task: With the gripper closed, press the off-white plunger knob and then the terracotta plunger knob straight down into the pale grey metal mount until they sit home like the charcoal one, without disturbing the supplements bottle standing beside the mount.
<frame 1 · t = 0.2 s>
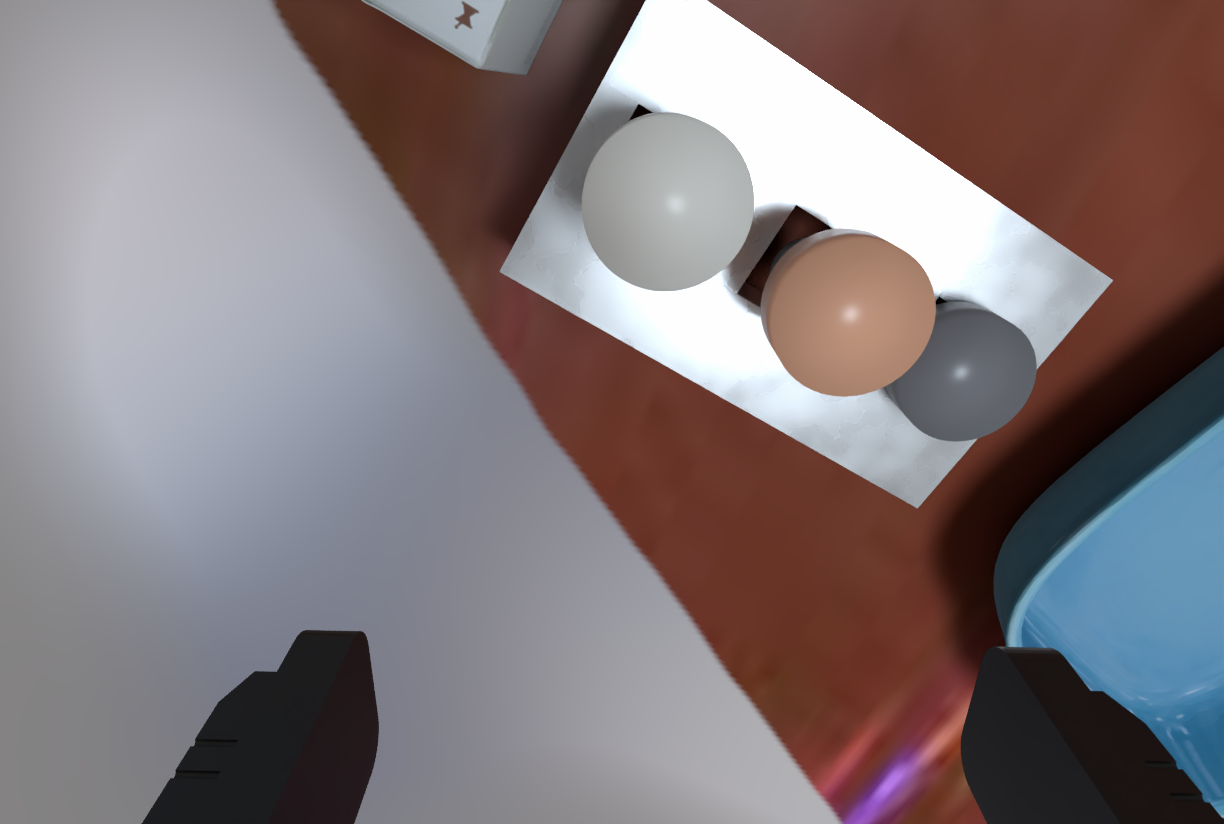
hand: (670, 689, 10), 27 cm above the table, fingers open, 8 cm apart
knob b: (826, 294, 28), point 8 cm above the table, slide at 0.0 cm
mount: (781, 250, 35), on the table
knob c: (934, 352, 33), point 4 cm above the table, slide at 4.0 cm
knob a: (661, 192, 26), point 8 cm above the table, slide at 0.0 cm
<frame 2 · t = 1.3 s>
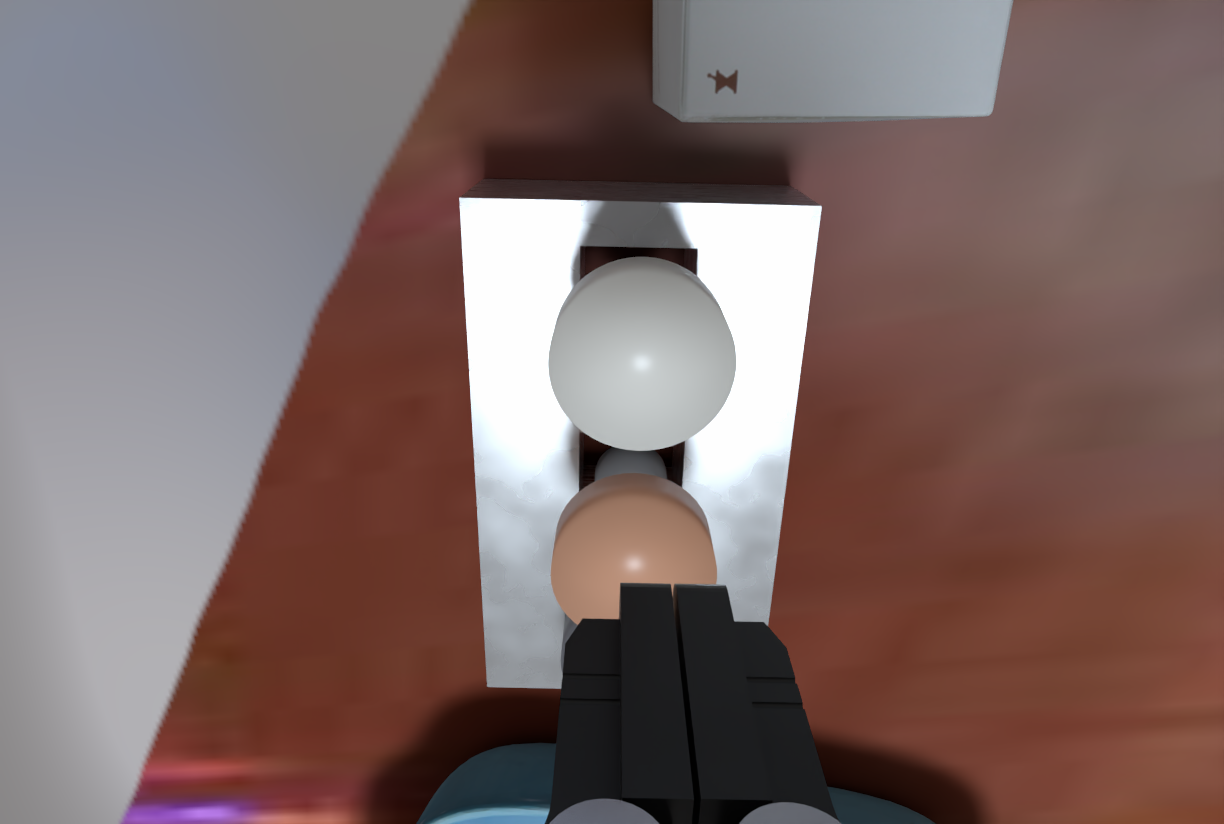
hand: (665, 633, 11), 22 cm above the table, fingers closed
knob b: (632, 519, 27), point 8 cm above the table, slide at 0.0 cm
mount: (629, 426, 34), on the table
knob c: (625, 608, 34), point 4 cm above the table, slide at 4.0 cm
knob a: (639, 329, 24), point 8 cm above the table, slide at 0.0 cm
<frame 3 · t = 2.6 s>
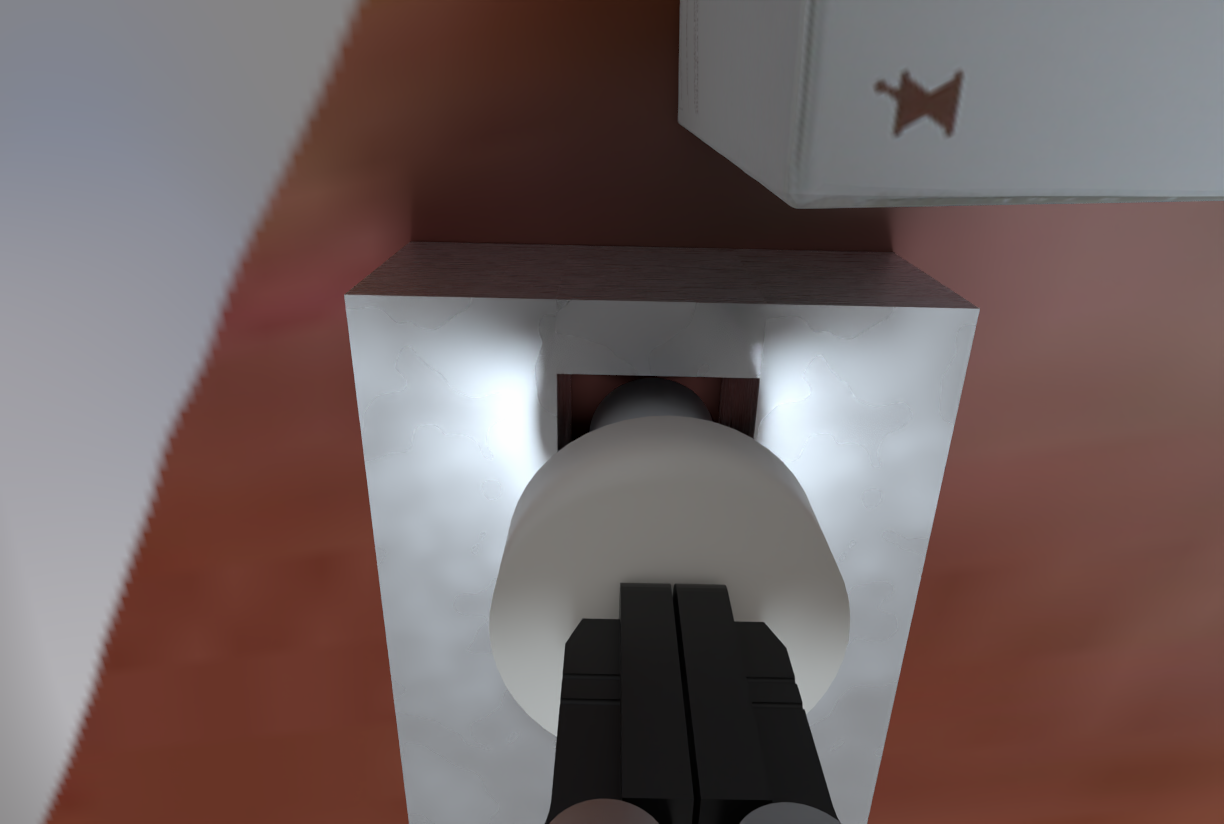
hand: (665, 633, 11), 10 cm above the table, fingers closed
mount: (637, 593, 23), on the table
knob a: (658, 514, 14), point 7 cm above the table, slide at 1.0 cm, touching gripper
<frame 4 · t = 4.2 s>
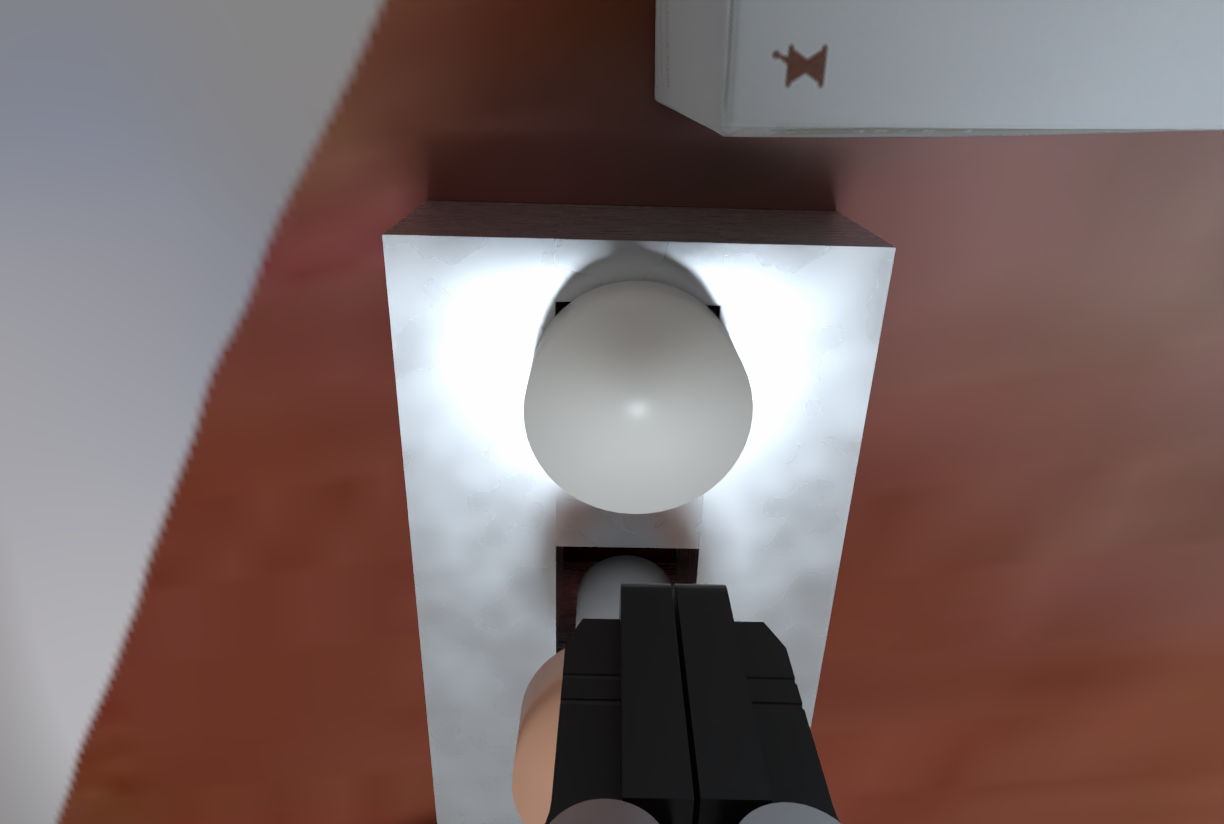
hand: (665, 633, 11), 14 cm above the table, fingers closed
knob b: (628, 676, 20), point 8 cm above the table, slide at 0.0 cm
mount: (621, 514, 27), on the table
knob a: (633, 363, 21), point 4 cm above the table, slide at 4.1 cm
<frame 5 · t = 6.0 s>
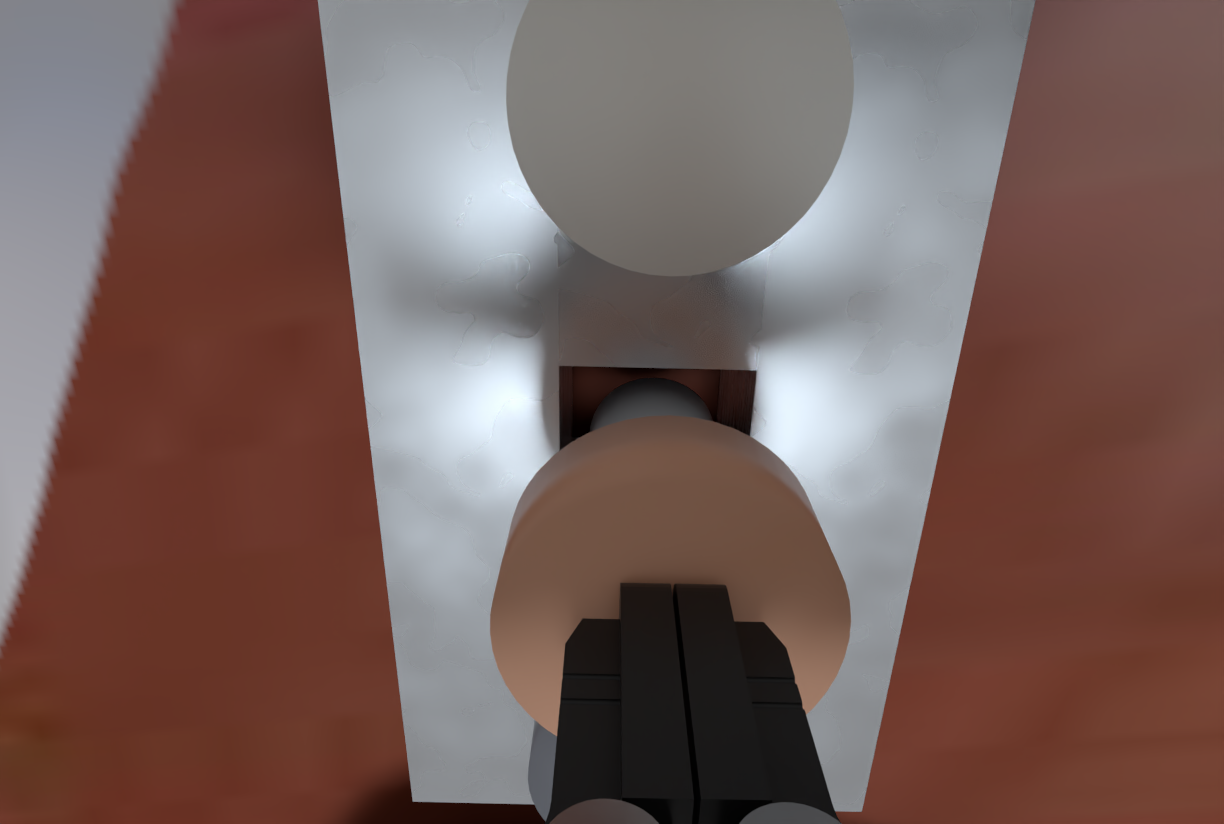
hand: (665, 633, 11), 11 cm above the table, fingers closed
knob b: (658, 514, 14), point 7 cm above the table, slide at 0.5 cm, touching gripper
mount: (646, 372, 21), on the table
knob c: (640, 674, 20), point 4 cm above the table, slide at 4.0 cm
knob a: (666, 98, 15), point 4 cm above the table, slide at 4.1 cm
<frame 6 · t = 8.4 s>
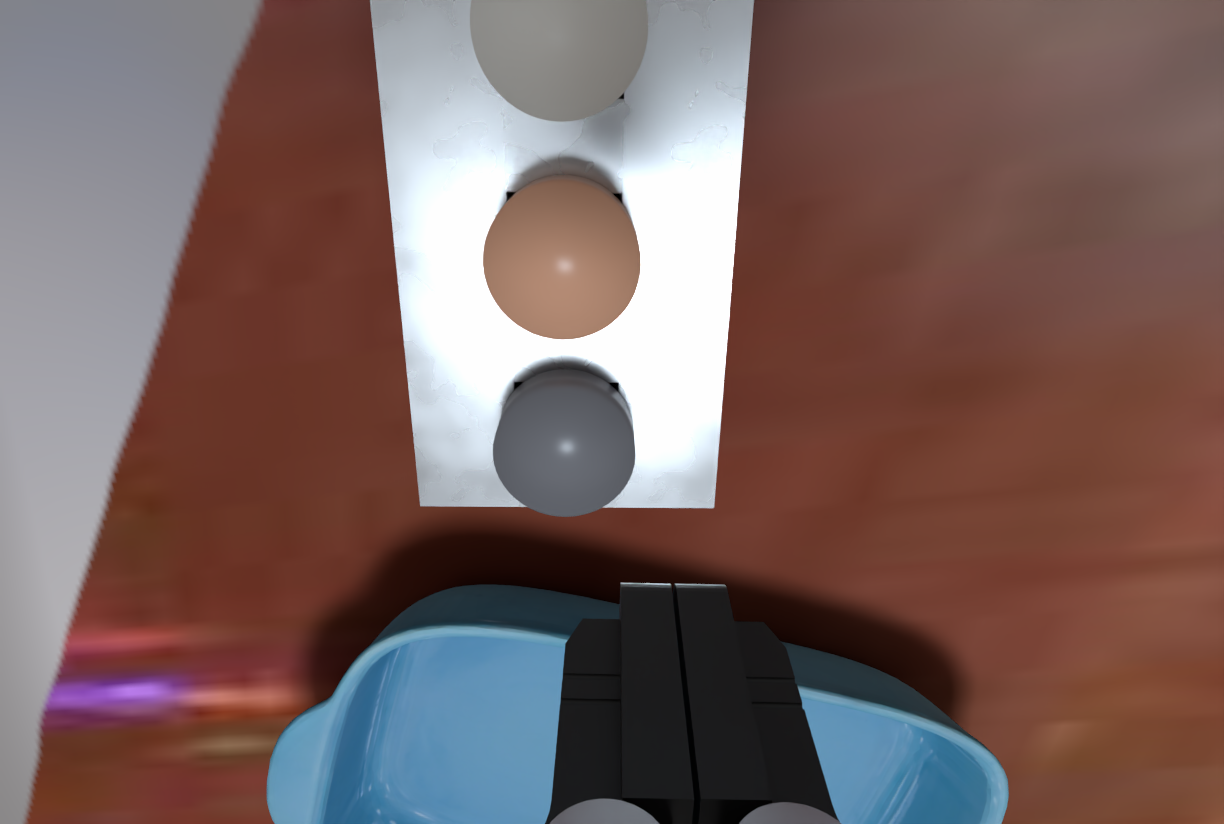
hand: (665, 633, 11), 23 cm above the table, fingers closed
casserole dish: (644, 733, 44), on the table
knob b: (566, 243, 28), point 4 cm above the table, slide at 4.1 cm
mount: (570, 224, 32), on the table
knob c: (567, 417, 31), point 4 cm above the table, slide at 4.0 cm
knob a: (564, 31, 26), point 4 cm above the table, slide at 4.1 cm
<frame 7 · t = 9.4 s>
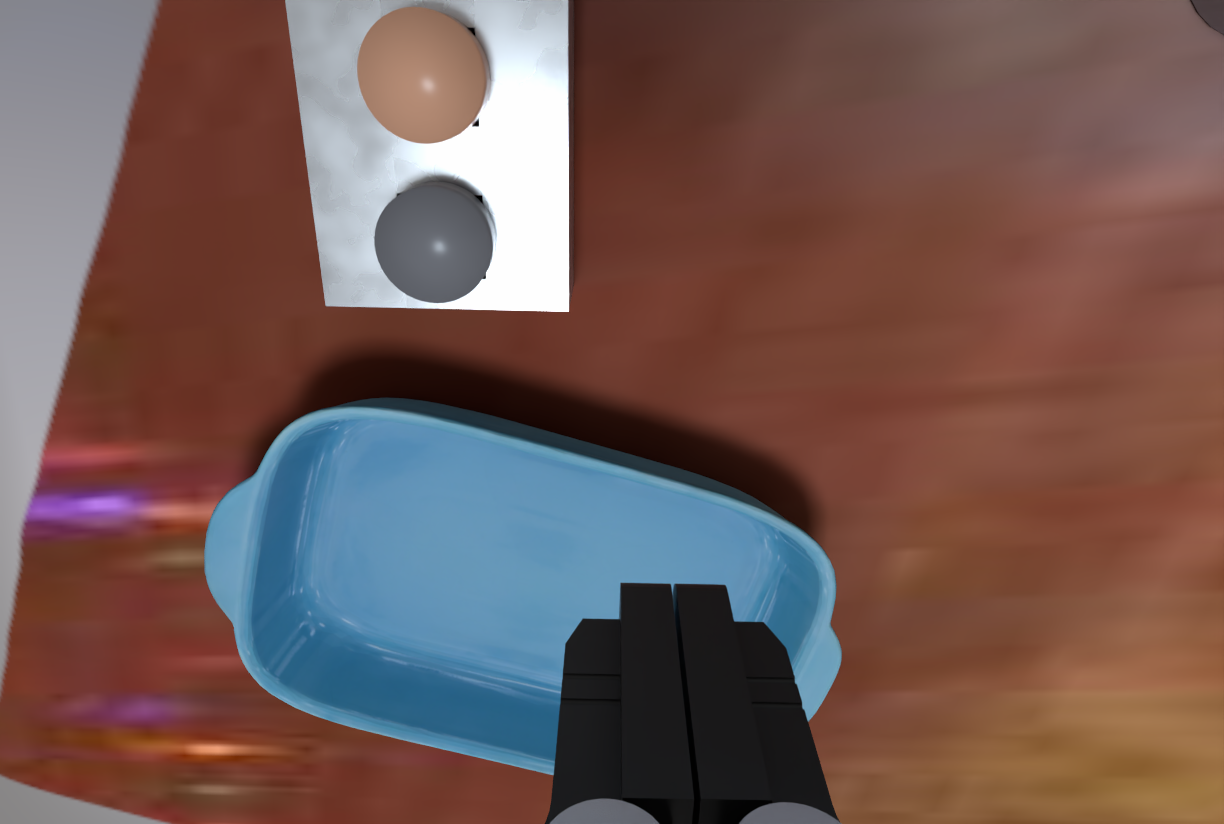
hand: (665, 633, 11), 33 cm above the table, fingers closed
casserole dish: (543, 554, 50), on the table
knob b: (437, 77, 35), point 4 cm above the table, slide at 4.1 cm
mount: (453, 76, 38), on the table
knob c: (447, 232, 38), point 4 cm above the table, slide at 4.0 cm
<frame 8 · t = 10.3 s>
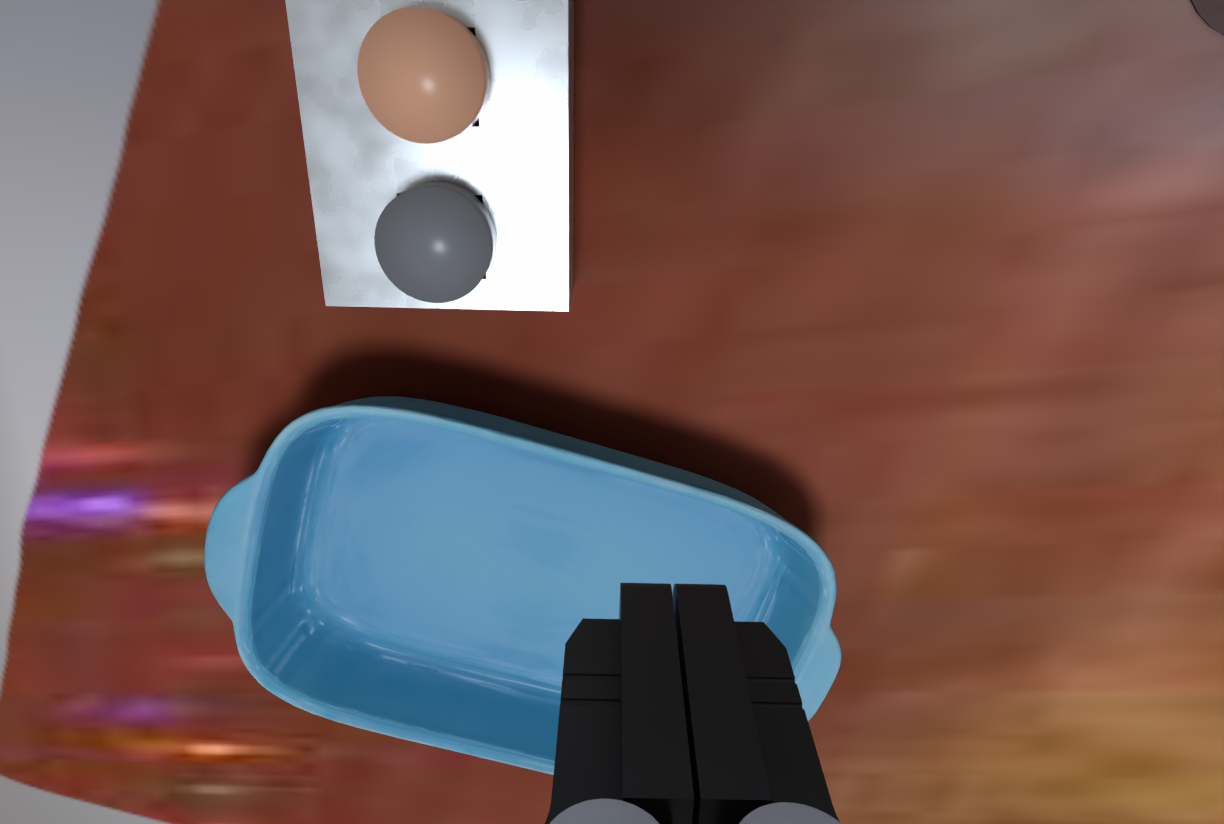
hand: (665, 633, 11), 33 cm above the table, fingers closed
casserole dish: (543, 554, 50), on the table
knob b: (437, 76, 35), point 4 cm above the table, slide at 4.1 cm
mount: (453, 76, 38), on the table
knob c: (447, 232, 38), point 4 cm above the table, slide at 4.0 cm
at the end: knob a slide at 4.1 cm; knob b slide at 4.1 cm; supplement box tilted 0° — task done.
